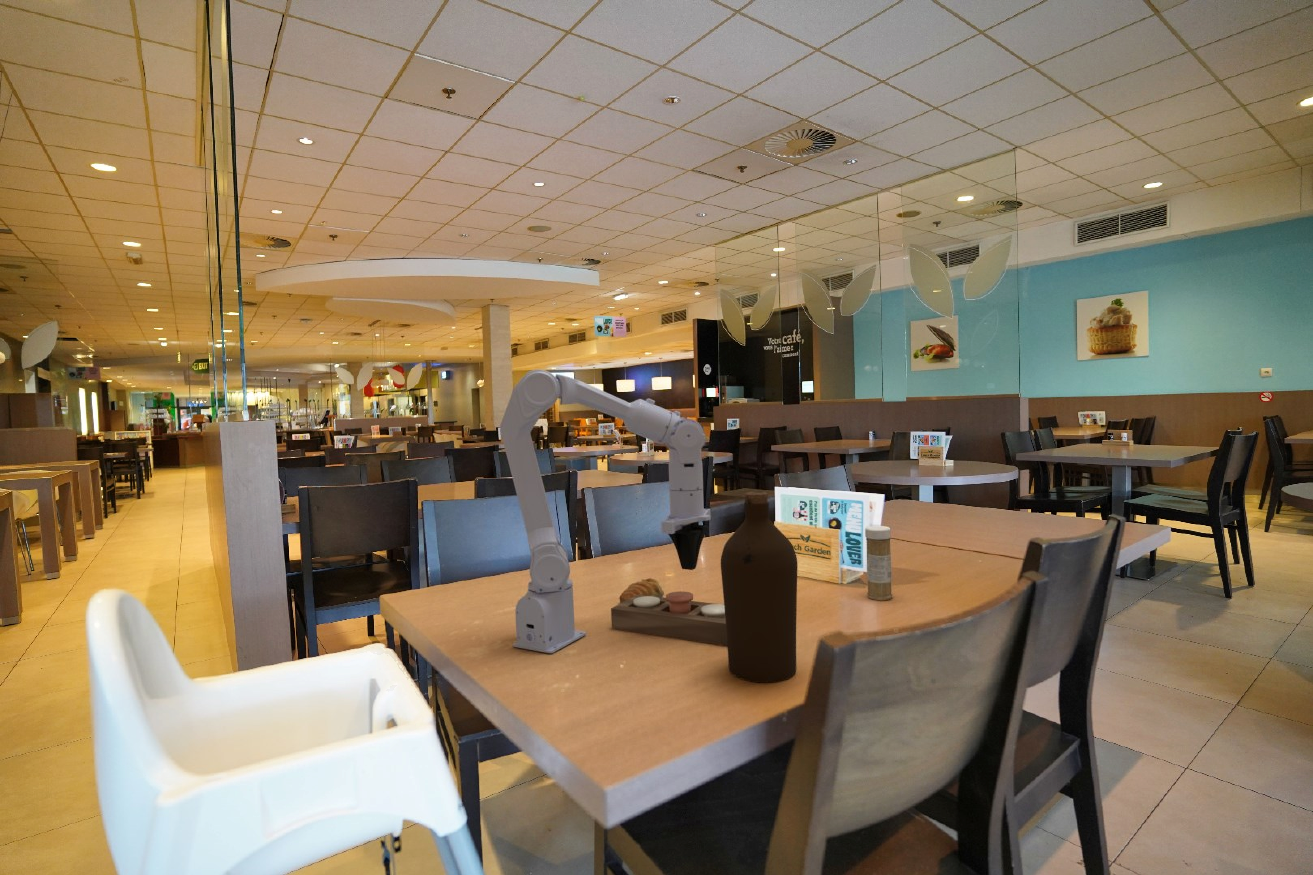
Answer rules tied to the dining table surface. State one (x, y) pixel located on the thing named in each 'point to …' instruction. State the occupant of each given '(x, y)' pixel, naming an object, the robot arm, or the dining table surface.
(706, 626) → the plug block
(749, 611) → the olive oil
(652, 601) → the cream plug
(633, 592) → the pastry
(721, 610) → the cream plug
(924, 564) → the dining table surface
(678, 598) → the red plug
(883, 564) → the sprinkles bottle
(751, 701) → the dining table surface
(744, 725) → the dining table surface
